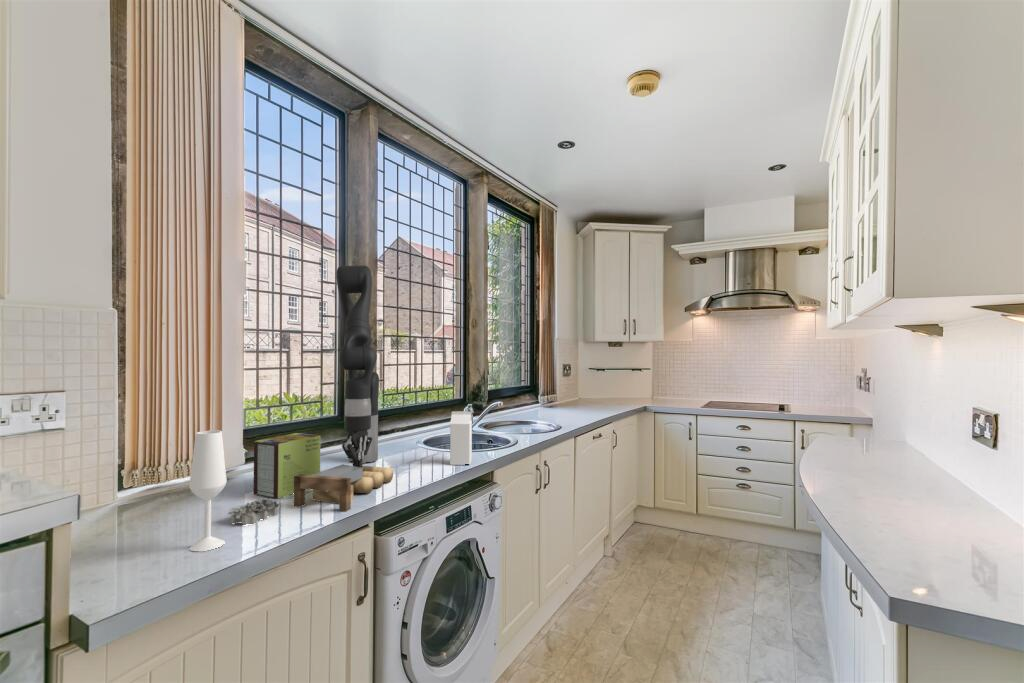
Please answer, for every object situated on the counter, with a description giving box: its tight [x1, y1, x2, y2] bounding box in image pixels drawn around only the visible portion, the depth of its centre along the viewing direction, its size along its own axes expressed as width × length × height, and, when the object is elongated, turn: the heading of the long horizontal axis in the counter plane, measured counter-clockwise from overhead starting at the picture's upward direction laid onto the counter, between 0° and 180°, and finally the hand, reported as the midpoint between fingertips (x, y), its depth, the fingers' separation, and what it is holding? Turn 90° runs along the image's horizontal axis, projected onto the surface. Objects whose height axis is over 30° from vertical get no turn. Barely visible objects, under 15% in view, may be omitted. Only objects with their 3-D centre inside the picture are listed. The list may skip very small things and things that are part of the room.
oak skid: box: [311, 485, 354, 504], centre depth 133 cm, size 11×4×4 cm, turn 70°
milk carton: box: [449, 410, 473, 466], centre depth 177 cm, size 7×7×19 cm
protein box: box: [253, 432, 321, 500], centre depth 143 cm, size 10×15×16 cm
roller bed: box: [351, 465, 394, 494], centre depth 146 cm, size 11×16×4 cm, turn 166°
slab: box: [312, 464, 363, 492], centre depth 135 cm, size 8×13×3 cm, turn 152°
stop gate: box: [293, 474, 352, 512], centre depth 127 cm, size 16×2×8 cm, turn 76°
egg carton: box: [227, 496, 282, 525], centre depth 119 cm, size 11×8×4 cm
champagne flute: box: [188, 429, 227, 552], centre depth 102 cm, size 7×7×24 cm
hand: (357, 471), depth 143 cm, fingers closed
